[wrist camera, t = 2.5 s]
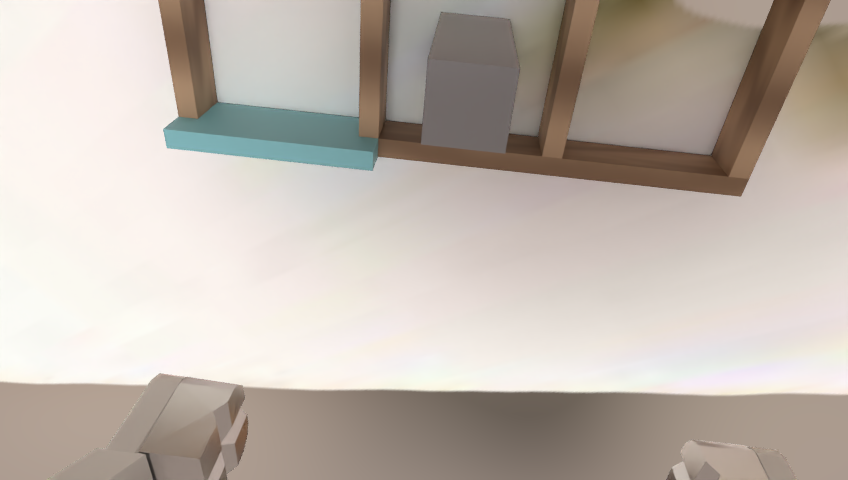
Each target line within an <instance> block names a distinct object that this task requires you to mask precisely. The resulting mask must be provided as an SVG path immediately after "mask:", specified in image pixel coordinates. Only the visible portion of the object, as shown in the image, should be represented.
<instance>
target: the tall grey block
mask: <svg viewBox="0 0 848 480" xmlns="http://www.w3.org/2000/svg"><path fill="white" fill-rule="evenodd" d="M519 72H520V65H519V61H518V56H517V51H516V47H515V42H514V37H513V33H512V28H511V23H510V19H505V18H495V17H485V16H475V15H466V14H456V13H446V12H441V15H440V18H439V22H438V25H437V29H436V32H435V36H434V39H433V43H432V46H431V50H430V53H429V57H428V64H427V76H426V88H425V100H424V112H423V124H422V136H421V145H431V146H440V147H449V148H458V149H467V150H476V151H486V152H495V153H504V154H505V152H506V146H507V141H508V135H509V129H510V124H511V118H512V112H513V107H514V101H515V95H516V90H517V84H518V78H519Z"/></svg>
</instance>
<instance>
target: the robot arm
mask: <svg viewBox="0 0 848 480" xmlns="http://www.w3.org/2000/svg"><path fill="white" fill-rule="evenodd" d="M244 399H245V395H244V390H243V386H242V385H237V384H230V383H224V382H217V381H210V380H204V379H197V378H190V377H183V376H175V375H168V374H161V373H160V374H158V375H157V376H156V377H155V378H153V379H152V380H151V381H150V383H149V384H148V386H147V387H146V389H145V390H144V392H143V393H142V395H141V396H140V398H139V399H138V401H137V402H136V404H135V405H134V407H133V408H132V410H131V411H130V413H129V414H128V416H127V417H126V419H125V420H124V422H123V423H122V425H121V426H120V428H119V429H118V431H117V432H116V434H115V435H114V437H113V438H112V440H111V441H110V443H109V444H108V446H107V447H106V449H103V448H96V449H94V450H93V451H91V452H90V453H88V454H86V455H85V456H84V457H82V458H80V459H79V460H77V461H75V462H74V463H72V464H70V465H69V466H67V467H66V468H64V469H62V470H61V471H59V472H58V473H56V474H55V475H53V476H51V477H50V478H48V479H46V480H227V475H226V474H228V473H229V472H230V471H232V470H233V469H234V468H235V467H237V466H238V464H239V461H240V459H241V456H242V454H243V452H244V448H245V444H246V440H247V435H248V417H247V414H246V413H245V412H244V411H243V410H242V409H241V406H242V404H243V401H244ZM680 452H681V455H682V459H683V462H681V463H679V464H677V465H675V466H673V467H672V468H671V470H670V472H669V475H668V477H667V479H666V480H797V478H796V476H795V474H794V472H793V470H792V469H791V467H790V465H789V463H788V461H787V459H786V458H785V456H784V455H783V454H782V453H780V452H779V451H778V450H773V449H764V448H757V447H746V446H744V445H736V444H727V443H718V442H709V441H700V440H690V441H688V442H686V443H685V444H684V446H683V448H682V450H681V451H680Z"/></svg>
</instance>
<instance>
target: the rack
mask: <svg viewBox="0 0 848 480" xmlns="http://www.w3.org/2000/svg"><path fill="white" fill-rule="evenodd" d="M158 1H159V7H160V13H161V18H162V24H163V30H164V35H165V41H166V47H167V52H168V58H169V64H170V70H171V75H172V81H173V87H174V92H175V98H176V104H177V109H178V115H179V117H178V118H177V119H175V120H174V121H173V122H172V123H170V124H169V125H168V126H167V127H165V128H164V129H163V131H164V136H165V141H166V146H167V148H171V149H180V150H190V151H199V152H208V153H217V154H226V155H235V156H244V157H253V158H262V159H271V160H280V161H289V162H298V163H307V164H316V165H325V166H334V167H343V168H352V169H361V170H370V171H373V168H374V165H375V162H376V160H377V157H387V158H396V159H405V160H414V161H423V162H432V163H441V164H450V165H459V166H468V167H477V168H487V169H496V170H505V171H514V172H523V173H532V174H541V175H550V176H559V177H568V178H577V179H586V180H596V181H605V182H614V183H623V184H632V185H641V186H650V187H659V188H668V189H677V190H686V191H695V192H705V193H714V194H723V195H732V196H741V195H742V193H743V191H744V189H745V187H746V184H747V182H748V180H749V178H750V176H751V173H752V171H753V169H754V167H755V165H756V162H757V160H758V158H759V156H760V154H761V152H762V149H763V147H764V145H765V143H766V141H767V138H768V136H769V134H770V132H771V130H772V127H773V125H774V123H775V121H776V119H777V116H778V114H779V112H780V110H781V108H782V106H783V103H784V101H785V99H786V97H787V95H788V92H789V90H790V88H791V86H792V84H793V81H794V79H795V77H796V75H797V73H798V71H799V68H800V66H801V64H802V62H803V60H804V57H805V55H806V53H807V51H808V49H809V46H810V44H811V42H812V40H813V38H814V35H815V33H816V31H817V29H818V27H819V25H820V22H821V20H822V18H823V16H824V14H825V11H826V9H827V7H828V5H829V3H830V0H774V1H773V4H772V6H771V9H770V12H769V14H768V16H767V19H766V21H765V24H764V26H763V29H762V31H761V34H760V36H759V39H758V41H757V44H756V46H755V49H754V51H753V54H752V56H751V58H750V61H749V63H748V66H747V68H746V71H745V73H744V76H743V78H742V81H741V83H740V86H739V88H738V91H737V93H736V96H735V98H734V101H733V103H732V106H731V108H730V111H729V113H728V115H727V118H726V120H725V123H724V125H723V128H722V130H721V133H720V135H719V138H718V140H717V143H716V145H715V148H714V150H713V153H712V155H711V156H709V155H699V154H690V153H681V152H672V151H662V150H653V149H644V148H635V147H625V146H616V145H607V144H598V143H589V142H579V141H570V140H567V135H568V131H569V127H570V123H571V119H572V115H573V110H574V106H575V102H576V98H577V94H578V90H579V85H580V81H581V77H582V73H583V69H584V65H585V60H586V56H587V52H588V48H589V44H590V40H591V35H592V31H593V27H594V23H595V19H596V15H597V10H598V6H599V2H600V0H566V4H565V9H564V13H563V18H562V23H561V28H560V33H559V37H558V42H557V47H556V52H555V57H554V61H553V66H552V71H551V76H550V81H549V86H548V90H547V95H546V100H545V105H544V110H543V114H542V119H541V124H540V129H539V134H538V137H533V136H524V135H515V134H509V135H508V141H507V146H506V152H505V154H504V153H495V152H486V151H476V150H467V149H458V148H449V147H440V146H431V145H421V136H422V124H413V123H404V122H395V121H385V117H386V94H387V71H388V47H389V24H390V0H361V25H360V92H359V118H358V117H348V116H339V115H330V114H321V113H311V112H302V111H293V110H284V109H274V108H265V107H256V106H247V105H237V104H228V103H219V102H217V96H216V89H215V81H214V74H213V66H212V58H211V51H210V43H209V36H208V28H207V21H206V13H205V6H204V0H158Z"/></svg>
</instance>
